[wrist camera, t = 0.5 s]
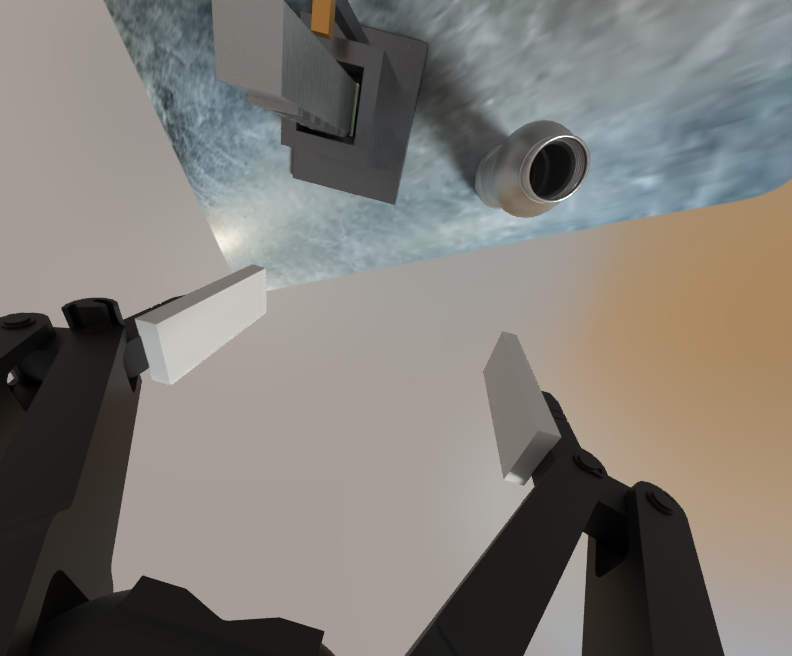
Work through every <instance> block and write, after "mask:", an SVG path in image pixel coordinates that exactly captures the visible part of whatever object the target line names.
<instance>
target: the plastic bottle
mask: <svg viewBox="0 0 792 656" xmlns="http://www.w3.org/2000/svg"><path fill="white" fill-rule="evenodd" d="M589 165H590V155H589V150H588V148H587V146H586V144H585V143H584V142H583V140H581V139H580V138H578V137H577V136H574V135H573V134H572V133H571V132H570V130H568V129H567V128H566V127H564V126H563V125H561V124H559V123H557V122H554V121H547V120H541V121H535V122H532V123H529V124H526V125H524V126H523V127H521V128H519V129H518V130H516V131H515V132H514V133H513V134H512V135H510V136H509V137H508V139H507V140H506V141H505V142H504V143H503V144H500V145H498V146H496V147H494V148H492V149H491V150H490V151H489V152H488V153H486V155H485V156H484V157H483V158H482V160H481V161H480V163H479V165H478V168H477V171H476V175H475V188H476V192H477V195H478V197H479V198H480V200H481V201H482V202H483V203H484V204H486V205H487V206H489V207H491V208H495V209H503V210H504V211H506V212H507V213H509V214H511V215H514V216H516V217H524V218H527V217H534V216H538V215H541V214H543V213H545V212H547V211H549V210H550V209H552V208H553V207H555V206H556V205H557V204H558V203H559V202H560V201H562V200H564V199H566V198H568V197H570V196H571V195H572V194H574V193H575V192H576V191H577V190H578V189H579V187H580V186H581V185H582V183H583V182H584V180H585V178H586V176H587V173H588V170H589Z"/></svg>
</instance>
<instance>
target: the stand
mask: <svg viewBox="0 0 792 656" xmlns="http://www.w3.org/2000/svg"><path fill="white" fill-rule="evenodd" d="M300 20H301V21H302V22H303V23H304V24H305V25H306V27H307V28H308V29H309V30H310V31H311V32H312V33H313V35H314V36H315V37H316V38H317V39H318V40H319V42H320V43H321V44H322V45H323V46H324V47H325V48H326V50H327V51H328V52H329V53H330V54H331V55H332V57H333V58H334V59H335V60H336V61H337V62H338V63H339V65H340V66H341V67H342V68H343V69H344V70H345V71H346V73H347V74H348V75H349V76H350V77H351V78H352V80H353V81H354V82H355V83H358V84H360V85H361V86H362V89H361V96H360V104H359V111H358V119H357V126H356V134H355V139H353V138H349V137H346V138H343V137H339V136H335V135H332V134H328V133H324V132H320V131H316V130H312V129H310V128H309V127H306V126H303V125H301V124H300V123H297V122H293V121H291V120H290V119H288V118H284V117H282V125H281V144H282V145H286V146H289V147H293V148H294V163H293V178H296V179H300V180H303V181H307V182H311V183H315V184H318V185H322V186H326V187H330V188H333V189H337V190H341V191H345V192H348V193H352V194H356V195H360V196H364V197H367V198H371V199H375V200H379V201H382V202H386V203H390V204H394V205H395V204H396V199H397V194H398V189H399V185H400V180H401V175H402V170H403V166H404V161H405V156H406V151H407V147H408V142H409V137H410V132H411V128H412V123H413V118H414V113H415V109H416V104H417V99H418V94H419V90H420V85H421V80H422V75H423V71H424V66H425V61H426V56H427V52H428V43H426V42H422V41H418V40H414V39H410V38H406V37H402V36H398V35H394V34H390V33H387V32H383V31H379V30H375V29H371V28H367V27H363V26H360V24H359V22H358V20H357V18H356V16H355V14H354V12H353V10H352V8H351V6H350V4H349V3H348V1H347V0H313V5H312V14H311V13H307V12H303V11H300Z"/></svg>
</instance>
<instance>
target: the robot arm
mask: <svg viewBox="0 0 792 656" xmlns="http://www.w3.org/2000/svg"><path fill="white" fill-rule="evenodd" d="M62 311H63V314H64V316H65V318H66V320H67V323H68V325H69V327H70V328H59V327H58V328H57V327H53V326H52V324H51V321H50V319H49V317H48V316H46V315H44V314H40V313H17V314H10V315H7V316H4V317H0V656H335V655H334V654H333V653H332V652H331V651H330V650H329V649H328V648H327V647H326V646H324V645H323V644H322V639H323V635H324V631H322V630H318V629H315V628H312V627H309V626H306V625H302V624H299V623H296V622H293V621H289V620H286V619H283V618H279V617H278V618H263V619H248V620H234V621H226V620H222V619H221V618H219V617H218V616H217V615H216V614H214V613H213V612H212V611H211V610H210V609H209V608H207V606H205V605H204V604H203V603H202V602H201V601H200V600H198V599H197V598H196V597H195V596H194V595H193V594H192V593H190V592H189V591H188V590H187V589H185V588H182V587H178V586H175V585H172V584H169V583H165V582H162V581H159V580H155V579H152V578H149V577H146V576H142V577H141V578H140V579H139V581H138V582H137V583H136V585H135V586H134V587H133V588H132V589H130V590H125V591H120V592H115V593H113V581H112V573H111V563H112V555H113V549H114V544H115V538H116V532H117V525H118V519H119V514H120V508H121V502H122V495H123V490H124V484H125V478H126V472H127V466H128V460H129V455H130V449H131V443H132V437H133V431H134V425H135V419H136V413H137V407H138V401H139V395H140V389H141V383H142V380H141V376H140V373H142V372H143V371H145V370H147V369H148V368H149V370H150V374H151V377H152V380H154V381H157V382H161V383H165V384H168V385H172V384H173V383H175V382H176V381H177V380H179V379H180V378H181V377H183V376H184V375H185V374H186V373H188V372H189V371H190V370H191V369H193V368H194V367H196V366H197V365H198V364H200V363H201V362H202V361H204V360H205V359H206V358H207V357H209V356H210V355H211V354H212V353H214V352H215V351H217V350H218V349H219V348H221V347H222V346H223V345H224V344H226V343H227V342H228V341H230V340H231V339H232V338H234V337H235V336H236V335H238V334H239V333H240V332H241V331H243V330H244V329H245V328H247V327H248V326H249V325H251V324H252V323H253V322H255V321H256V320H257V319H258V318H260V317H261V316H262V315H264V314H265V313H266V268H263V267H259V266H256V265H250V266H248V267H246V268H244V269H242V270H239V271H237V272H235V273H233V274H231V275H229V276H227V277H224V278H222V279H220V280H218V281H216V282H213V283H211V284H209V285H207V286H205V287H203V288H200V289H198V290H196V291H194V292H192V293H189V294H187V295H183V296H178V297H174V298H171V299H169V300H167V301H164V302H162V303H161V304H158V305H155V306H154V307H152V308H149V309H146V310H144V311H142V312H140V313H138V314H135V315H133V316H131V317H128V318H126V319H124V320H123V319H122V315H121V313H120V309H119V306H118V303H117V302H116V301H114V300H113V299H107V298H86V299H81V300H77V301H73V302H70V303H68V304H66V305H64V306H63V307H62ZM10 372H11V374H12V375H13V377H14V379H13V380H12V381H11V382H9V383H7V377H8V374H9V373H10ZM483 373H484V377H485V383H486V389H487V394H488V399H489V405H490V410H491V415H492V420H493V426H494V431H495V436H496V441H497V446H498V452H499V457H500V462H501V467H502V473H503V478H504V480H507V481H510V482H513V483H517V484H521V485H525V483H526V482H527V481H528V480H529V478H530V477H531V476H532V479H533V482H534V486H535V487H534V488H533V489H532V490H531V492H530V493H529V494H528V496H527V497H526V498H525V499H524V500H523V502H522V503H521V505H520V506H519V507H518V509H517V510H516V511H515V513H514V514H513V515H512V516H511V518H510V519H509V521H508V522H507V523H506V524H505V526H504V527H503V528H502V530H501V531H500V532H499V533H498V535H497V536H496V537H495V539H494V540H493V541H492V543H491V544H490V545H489V546H488V548H487V549H486V550H485V552H484V553H483V554H482V556H481V557H480V558H479V560H478V561H477V562H476V563H475V565H474V566H473V567H472V569H471V570H470V571H469V573H468V574H467V575H466V576H465V578H464V579H463V580H462V582H461V583H460V584H459V586H458V587H457V588H456V589H455V591H454V592H453V593H452V595H451V596H450V597H449V599H448V600H447V601H446V603H445V604H444V605H443V606H442V608H441V609H440V610H439V612H438V613H437V614H436V615H435V617H434V618H433V619H432V621H431V622H430V623H429V625H428V626H427V627H426V629H425V630H424V631H423V632H422V634H421V635H420V636H419V638H418V639H417V640H416V642H415V643H414V644H413V645H412V647H411V648H410V649H409V651H408V652H407V653H406V655H405V656H523V655H524V653H525V651H526V649H527V647H528V645H529V643H530V641H531V638H532V637H533V634H534V632H535V630H536V628H537V626H538V624H539V622H540V620H541V618H542V616H543V614H544V611H545V609H546V607H547V605H548V603H549V601H550V599H551V597H552V595H553V593H554V591H555V589H556V586H557V584H558V582H559V580H560V578H561V576H562V574H563V572H564V570H565V567H566V565H567V563H568V561H569V559H570V557H571V555H572V553H573V551H574V549H575V547H576V545H577V542H578V540H579V538H580V536H581V534H582V532H584V533H586V534H588V551H587V569H586V589H585V606H584V624H583V642H582V656H724V652H723V648H722V645H721V641H720V637H719V634H718V630H717V626H716V623H715V619H714V615H713V611H712V608H711V604H710V601H709V597H708V593H707V590H706V586H705V583H704V578H703V574H702V571H701V567H700V564H699V560H698V556H697V552H696V549H695V546H694V541H693V537H692V534H691V530H690V527H689V523H688V519H687V517H686V515H685V512H684V511H683V509H682V508H681V507H680V505H679V504H678V503H677V502H676V501H675V500H674V499H673V498H672V497H671V496H670V495H669V494H668V493H666V492H665V491H663V490H662V489H661V488H659V487H658V486H655V485H653V484H651V483H649V482H644V481H640V482H637V483H636V484H635V485H634V486H632V487H628V486H627V485H625V484H623V483H621V482H619V481H617V480H615V479H613V478H611V477H610V476H608V474H607V472H606V470H605V468H604V466H603V465H602V464H601V462H600V461H599V460H598V459H597V458H596V457H594V456H593V455H592V454H591V453H589V452H587V451H586V450H584V449H582V448H581V447H580V445H579V443H578V441H577V439H576V437H575V435H574V433H573V431H572V429H571V427H570V425H569V423H568V422H567V419H566V417H565V415H564V414H563V411H562V409H561V407H560V405H559V403H558V401H556V399H555V398H554V397H553V396H552V395H551V394H550V393H547V392H544V391H541V390H540V387H539V385H538V383H537V381H536V378H535V376H534V374H533V372H532V369H531V367H530V365H529V363H528V360H527V358H526V356H525V354H524V351H523V349H522V347H521V344H520V342H519V340H518V338H517V336H516V335H514V334H510V333H506V332H502V333H501V335H500V338H499V339H498V342H497V344H496V346H495V348H494V350H493V352H492V354H491V356H490V358H489V360H488V362H487V365H486V367H485V369H484V371H483ZM320 646H321V647H320Z"/></svg>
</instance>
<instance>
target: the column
mask: <svg viewBox="0 0 792 656" xmlns="http://www.w3.org/2000/svg"><path fill="white" fill-rule="evenodd" d="M212 14H213V30H214V46H215V63H216V79H217V80H219V81H221V82H223V83H225V84H227V85H230V86H232V87H234V88H236V89H238V90H240V91H243V92H245V93H247V102H248V103H250V104H253V105H256V106H260V107H263V108H264V109H265V110H267V111H269V112H273V113H277V114H278V115H279V116H281V117H284V118H288V119H290V120H291V121H293V122H297V123H300V124H301V125H303V126H306V127H309V128H310V129H312V130H316V131H320V132H324V133H328V134H332V135H335V136H339V137H343V138H346V137H349V138H353V139H355V134H356V126H357V119H358V111H359V104H360V96H361V89H362V86H361V85H360V84H358V83H355V82H354V81H353V80H352V78H351V77H350V76H349V75H348V74H347V73H346V71H345V70H344V69H343V68H342V67H341V66H340V65H339V63H338V62H337V61H336V60H335V59H334V58H333V57H332V55H331V54H330V53H329V52H328V51H327V50H326V48H325V47H324V46H323V45H322V44H321V43H320V42H319V40H318V39H317V38H316V37H315V36H314V35H313V33H312V32H311V31H310V30H309V29H308V28H307V27H306V25H305V24H304V23H303V22H302V21H301V20H300V18H299V17H298V16H297V15H296V14H295V13H294V12H293V10H292V9H291V8H290V7H289V6H288V5H287V3H286V2H285V1H284V0H212Z"/></svg>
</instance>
